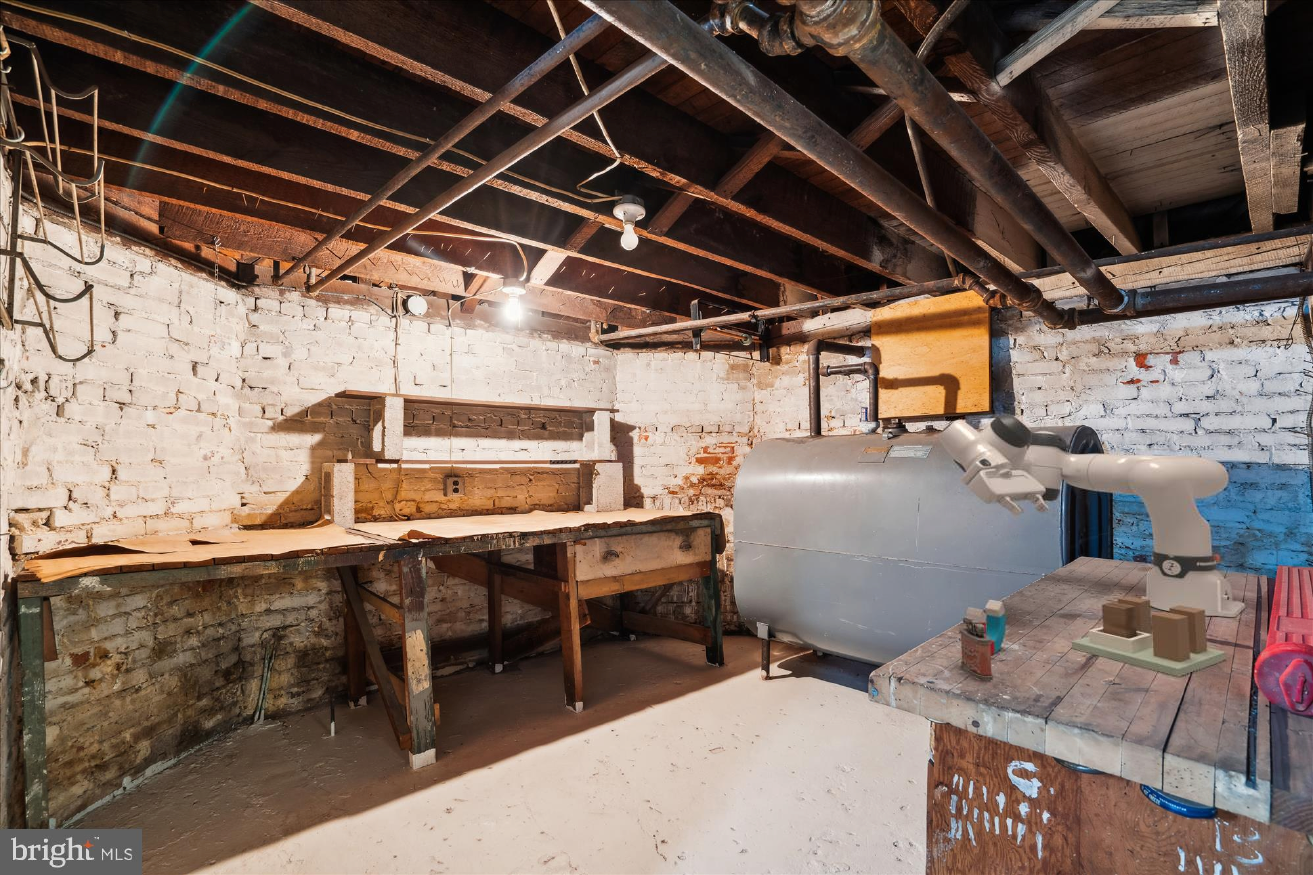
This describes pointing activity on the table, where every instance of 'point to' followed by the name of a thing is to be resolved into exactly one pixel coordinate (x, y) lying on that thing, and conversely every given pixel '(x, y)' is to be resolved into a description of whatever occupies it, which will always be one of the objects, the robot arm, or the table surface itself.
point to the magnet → (991, 622)
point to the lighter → (975, 650)
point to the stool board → (1151, 659)
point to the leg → (1119, 620)
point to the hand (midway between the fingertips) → (1032, 512)
